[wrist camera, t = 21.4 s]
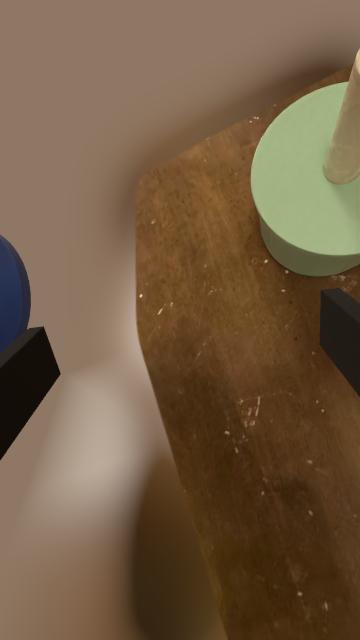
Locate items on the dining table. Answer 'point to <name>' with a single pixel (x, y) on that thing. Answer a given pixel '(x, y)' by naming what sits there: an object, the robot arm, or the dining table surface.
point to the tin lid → (313, 171)
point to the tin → (305, 257)
